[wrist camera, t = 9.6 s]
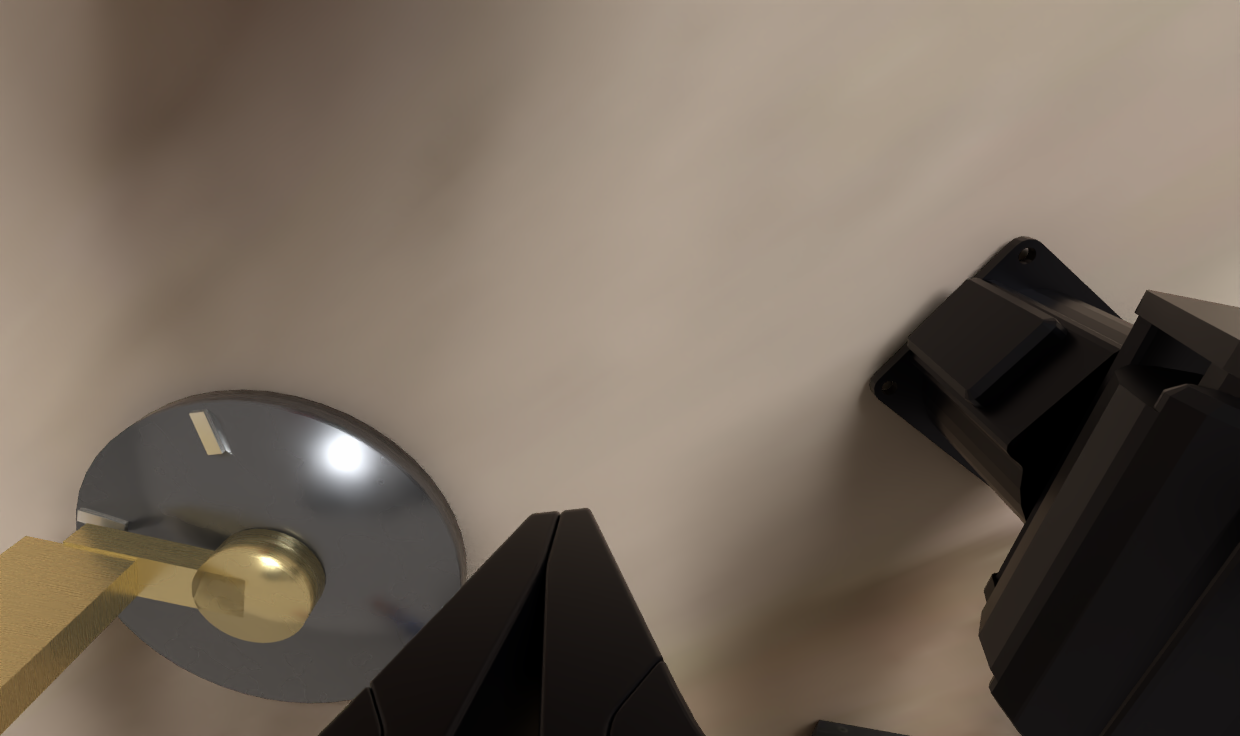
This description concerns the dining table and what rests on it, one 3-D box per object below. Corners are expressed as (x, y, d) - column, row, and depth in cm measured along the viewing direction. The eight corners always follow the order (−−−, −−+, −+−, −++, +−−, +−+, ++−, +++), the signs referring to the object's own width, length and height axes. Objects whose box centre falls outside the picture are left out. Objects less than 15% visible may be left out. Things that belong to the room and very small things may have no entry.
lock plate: (500, 667, 27) (494, 692, 26) (188, 694, 28) (169, 719, 26) (412, 367, 21) (401, 382, 20) (27, 413, 22) (-5, 430, 21)
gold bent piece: (329, 542, 23) (145, 816, 14) (321, 623, 24) (150, 913, 16) (57, 483, 22) (-314, 735, 13) (67, 570, 23) (-261, 847, 15)
